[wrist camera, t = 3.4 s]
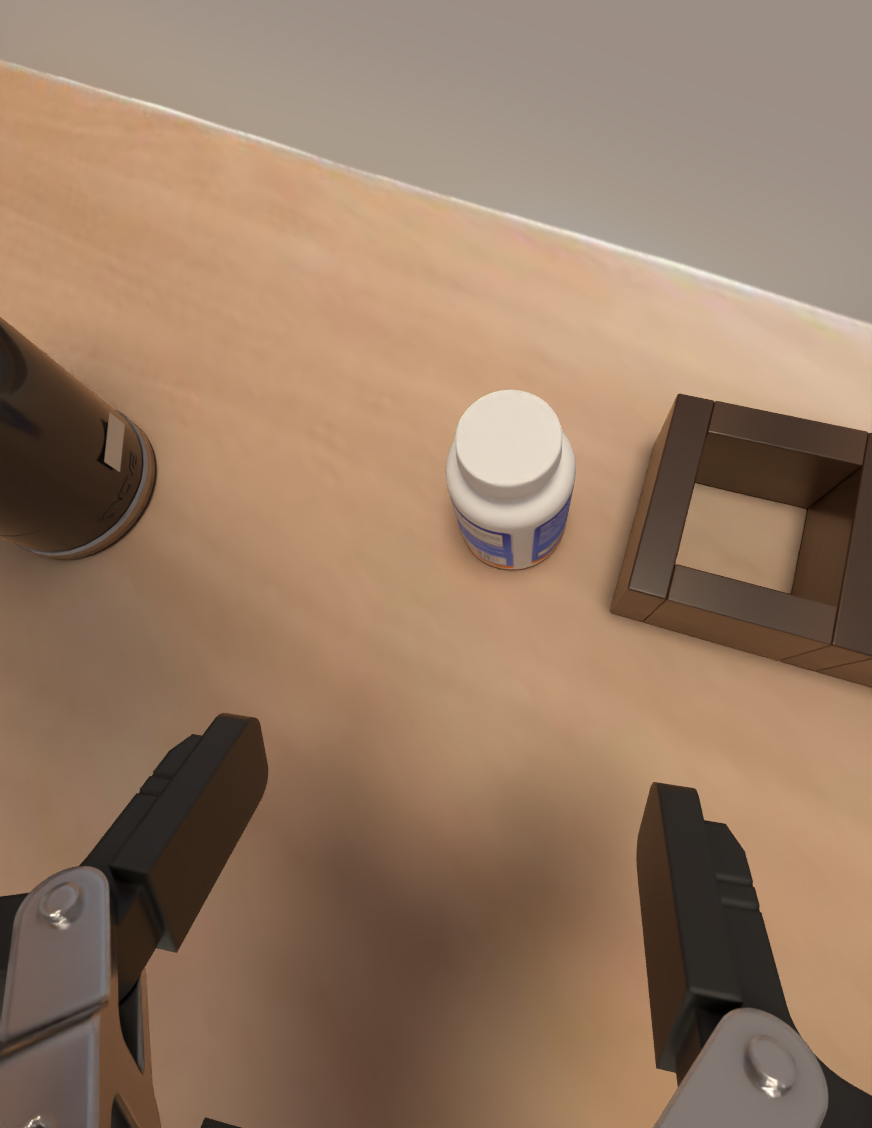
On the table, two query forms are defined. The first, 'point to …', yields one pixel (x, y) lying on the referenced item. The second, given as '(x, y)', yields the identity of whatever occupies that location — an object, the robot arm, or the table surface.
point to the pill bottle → (511, 479)
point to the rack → (776, 472)
